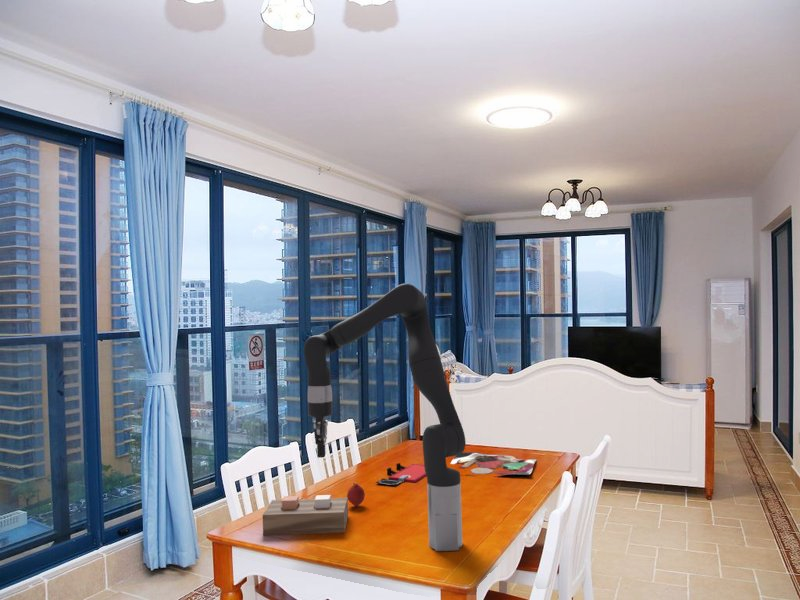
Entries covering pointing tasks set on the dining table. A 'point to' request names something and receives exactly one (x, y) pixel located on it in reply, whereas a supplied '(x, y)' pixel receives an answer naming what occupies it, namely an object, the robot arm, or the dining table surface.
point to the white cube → (323, 501)
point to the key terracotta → (290, 502)
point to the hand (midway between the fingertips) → (321, 456)
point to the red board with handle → (404, 474)
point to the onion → (356, 495)
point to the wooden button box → (305, 518)
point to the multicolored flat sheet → (494, 463)
